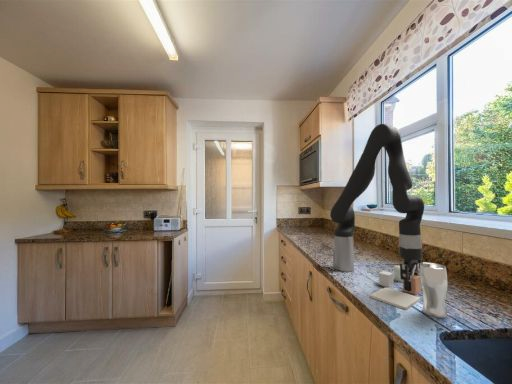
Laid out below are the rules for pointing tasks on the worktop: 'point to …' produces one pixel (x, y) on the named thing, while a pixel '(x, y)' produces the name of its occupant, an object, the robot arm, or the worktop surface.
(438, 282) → the beer glass
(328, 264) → the worktop surface
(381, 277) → the grey block
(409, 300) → the cream pad
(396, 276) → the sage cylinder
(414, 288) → the terracotta block
